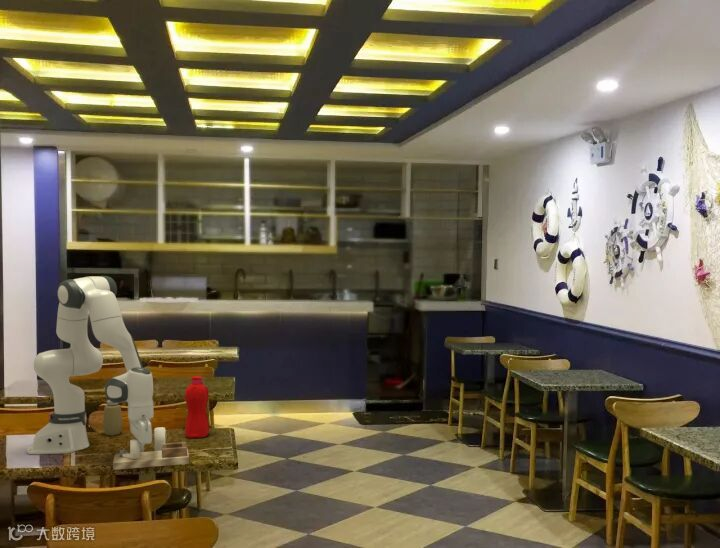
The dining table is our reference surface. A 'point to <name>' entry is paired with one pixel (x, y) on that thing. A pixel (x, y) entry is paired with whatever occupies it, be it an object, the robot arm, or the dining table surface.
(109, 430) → the squeeze bottle
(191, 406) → the water bottle
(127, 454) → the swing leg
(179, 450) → the wooden board with socket
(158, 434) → the loose leg
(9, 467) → the dining table surface
